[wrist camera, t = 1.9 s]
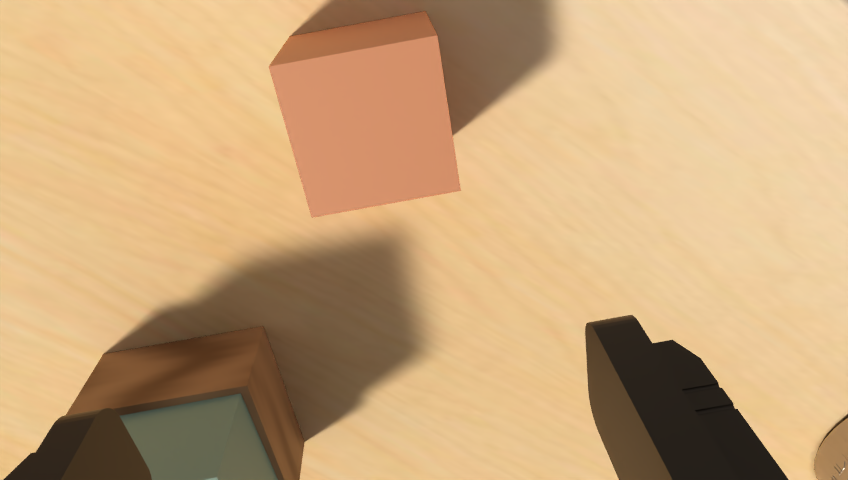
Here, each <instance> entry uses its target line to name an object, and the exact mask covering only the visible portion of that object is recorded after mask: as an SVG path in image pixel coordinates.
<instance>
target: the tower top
mask: <svg viewBox="0 0 848 480" xmlns="http://www.w3.org/2000/svg"><path fill="white" fill-rule="evenodd" d="M120 418H121V420H122V421H123V423H124V425H125V427H126V429H127V430H128V432H129V434H130V436H131V438H132V439H133V441H134V443H135V445H136V447H137V448H138V450H139V452H140V454H141V455H142V457H143V459H144V461H145V463H146V464H147V466H148V468H149V470H150V474H151V478H152V480H278V478H277V476H276V474H275V471H274V469H273V467H272V465H271V462H270V460H269V458H268V455H267V453H266V451H265V448H264V446H263V444H262V441H261V439H260V437H259V434H258V432H257V430H256V427H255V425H254V423H253V420H252V418H251V416H250V414H249V411H248V409H247V407H246V404H245V402H244V400H243V397H242V395H241V393H240V394H234V395H229V396H224V397H218V398H213V399H208V400H202V401H197V402H191V403H186V404H181V405H175V406H170V407H164V408H159V409H154V410H148V411H143V412H137V413H132V414H127V415H121V416H120Z"/></svg>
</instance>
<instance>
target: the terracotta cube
mask: <svg viewBox="0 0 848 480" xmlns="http://www.w3.org/2000/svg"><path fill="white" fill-rule="evenodd" d="M269 69H270V73H271V76H272V80H273V83H274V87H275V90H276V94H277V97H278V101H279V104H280V108H281V111H282V115H283V118H284V122H285V125H286V129H287V132H288V136H289V139H290V143H291V146H292V150H293V153H294V157H295V160H296V164H297V168H298V171H299V175H300V178H301V182H302V185H303V189H304V192H305V196H306V199H307V203H308V206H309V210H310V213H311V217H318V216H324V215H329V214H335V213H340V212H346V211H351V210H357V209H362V208H368V207H373V206H379V205H384V204H390V203H395V202H401V201H406V200H412V199H418V198H423V197H429V196H434V195H440V194H445V193H451V192H456V191H461V189H460V183H459V176H458V169H457V163H456V156H455V149H454V143H453V136H452V129H451V123H450V116H449V109H448V103H447V96H446V89H445V83H444V76H443V69H442V63H441V56H440V49H439V43H438V36H437V33H436V31H435V29H434V27H433V25H432V23H431V21H430V19H429V17H428V15H427V13H426V11H423V12H418V13H413V14H407V15H402V16H396V17H391V18H386V19H380V20H375V21H370V22H364V23H359V24H353V25H348V26H343V27H337V28H332V29H327V30H321V31H316V32H311V33H305V34H300V35H294V36H290V37H289V38H288V40H287V41H286V43H285V44H284V45H283V47H282V48H281V50H280V51H279V53H278V54H277V55H276V57H275V58H274V60H273V61H272V63H271V64H270V66H269Z"/></svg>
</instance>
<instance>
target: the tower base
mask: <svg viewBox="0 0 848 480" xmlns="http://www.w3.org/2000/svg"><path fill="white" fill-rule="evenodd" d="M240 393H241V395H242V397H243V400H244V402H245V404H246V407H247V409H248V411H249V414H250V416H251V418H252V420H253V423H254V425H255V427H256V430H257V432H258V434H259V437H260V439H261V441H262V444H263V446H264V448H265V451H266V453H267V455H268V458H269V460H270V462H271V465H272V467H273V469H274V471H275V474H276V476H277V478H278V480H299V479H300V471H301V464H302V456H303V449H304V439H303V437H302V434H301V431H300V428H299V425H298V423H297V420H296V417H295V414H294V411H293V409H292V406H291V403H290V400H289V397H288V394H287V392H286V389H285V386H284V383H283V380H282V378H281V375H280V372H279V369H278V366H277V363H276V361H275V358H274V355H273V352H272V349H271V347H270V344H269V341H268V338H267V335H266V332H265V330H264V327H263V326H262V327H256V328H250V329H245V330H239V331H233V332H227V333H221V334H216V335H210V336H204V337H198V338H193V339H187V340H181V341H175V342H169V343H164V344H158V345H152V346H146V347H141V348H135V349H129V350H123V351H118V352H112V353H106V354H103V356H102V357H101V359H100V361H99V362H98V364H97V365H96V367H95V369H94V370H93V372H92V374H91V375H90V377H89V378H88V380H87V382H86V383H85V385H84V387H83V388H82V390H81V391H80V393H79V395H78V396H77V398H76V400H75V401H74V403H73V404H72V406H71V408H70V409H69V411H68V413H67V414H66V415H71V414H76V413H82V412H88V411H93V410H99V409H104V408H111V409H113V410H114V411H116V412H117V413H118V415H119V416H121V415H127V414H132V413H137V412H143V411H148V410H154V409H159V408H164V407H170V406H175V405H181V404H186V403H191V402H197V401H202V400H208V399H213V398H218V397H224V396H229V395H234V394H240Z"/></svg>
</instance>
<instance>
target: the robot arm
mask: <svg viewBox="0 0 848 480" xmlns="http://www.w3.org/2000/svg"><path fill="white" fill-rule="evenodd" d="M585 336H586V354H587V373H588V391H589V399H590V405H591V409H592V413H593V417H594V420H595V424H596V426H597V429H598V432H599V434H600V436H601V439H602V441H603V443H604V446H605V448H606V450H607V453H608V455H609V457H610V460H611V462H612V464H613V467H614V469H615V471H616V474H617V476H618V478H619V480H788V478H787V477H786V475H785V474H784V473H783V471H782V470H781V469H780V467H779V466H778V464H777V463H776V462H775V460H774V459H773V458H772V456H771V455H770V453H769V452H768V451H767V449H766V448H765V447H764V445H763V444H762V442H761V441H760V440H759V438H758V437H757V436H756V434H755V433H754V431H753V430H752V429H751V427H750V426H749V424H748V423H747V422H746V420H745V419H744V418H743V416H742V415H741V413H740V412H739V411H738V409H735V408H734V406H733V402H732V401H731V400H730V398H729V397H728V396H727V394H726V393H725V391H724V390H723V389H722V388H720V387H719V385H718V382H717V380H716V379H715V378H714V376H713V375H712V374H711V372H710V371H709V369H708V368H707V367H706V365H705V364H704V363H703V361H702V360H701V358H699V357H698V356H696V355H695V354H693V353H692V352H690V351H689V350H687V349H686V348H684V347H683V346H681V345H680V344H678V343H676V342H675V341H673V340H669V341H664V342H658V343H652V342H651V341H650V339H649V338H648V336H647V334H646V333H645V331H644V330H643V328H642V327H641V325H640V324H639V322H638V320H637V319H636V318H635V317H634V316H633V315H628V316H622V317H617V318H611V319H606V320H600V321H595V322H589V323H587V324H586V329H585ZM814 470H815V474H816V477H817V479H818V480H848V418H847V419H845V420H844V421H843V422H842V423H840V424H839V425H838V426H837V427H836V428H834V429H833V430H832V432H831V433H830V434H829V435H828V436H827V437H826V438H825V439H824V441H823V443H822V444H821V446H820V447H819V449H818V452H817V454H816V457H815V463H814ZM4 480H152V478H151V474H150V470H149V468H148V466H147V464H146V463H145V461H144V459H143V457H142V455H141V454H140V452H139V450H138V448H137V447H136V445H135V443H134V441H133V439H132V438H131V436H130V434H129V432H128V430H127V429H126V427H125V425H124V423H123V421H122V420H121V418H120V416H119V415H118V413H117V412H116V411H114V410H113V409H111V408H104V409H99V410H93V411H88V412H82V413H76V414H71V415H65V416H62V417H60V418H59V419H58V420H57V421H56V422H55V423H54V424H53V426H52V427H51V429H50V431H49V432H48V434H47V435H46V437H45V439H44V440H43V442H42V443H41V445H40V447H39V448H38V450H37V451H36V453H31V454H30V455H29V456H28V457H27V458H26V459H25V460H23V461H22V462H21V463H20V464H19V465H18V466H17V467H16V468H15V469H14V470H13V471H12V472H11V473H10V474H9V475H8V476H7V477H6V478H5V479H4Z"/></svg>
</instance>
